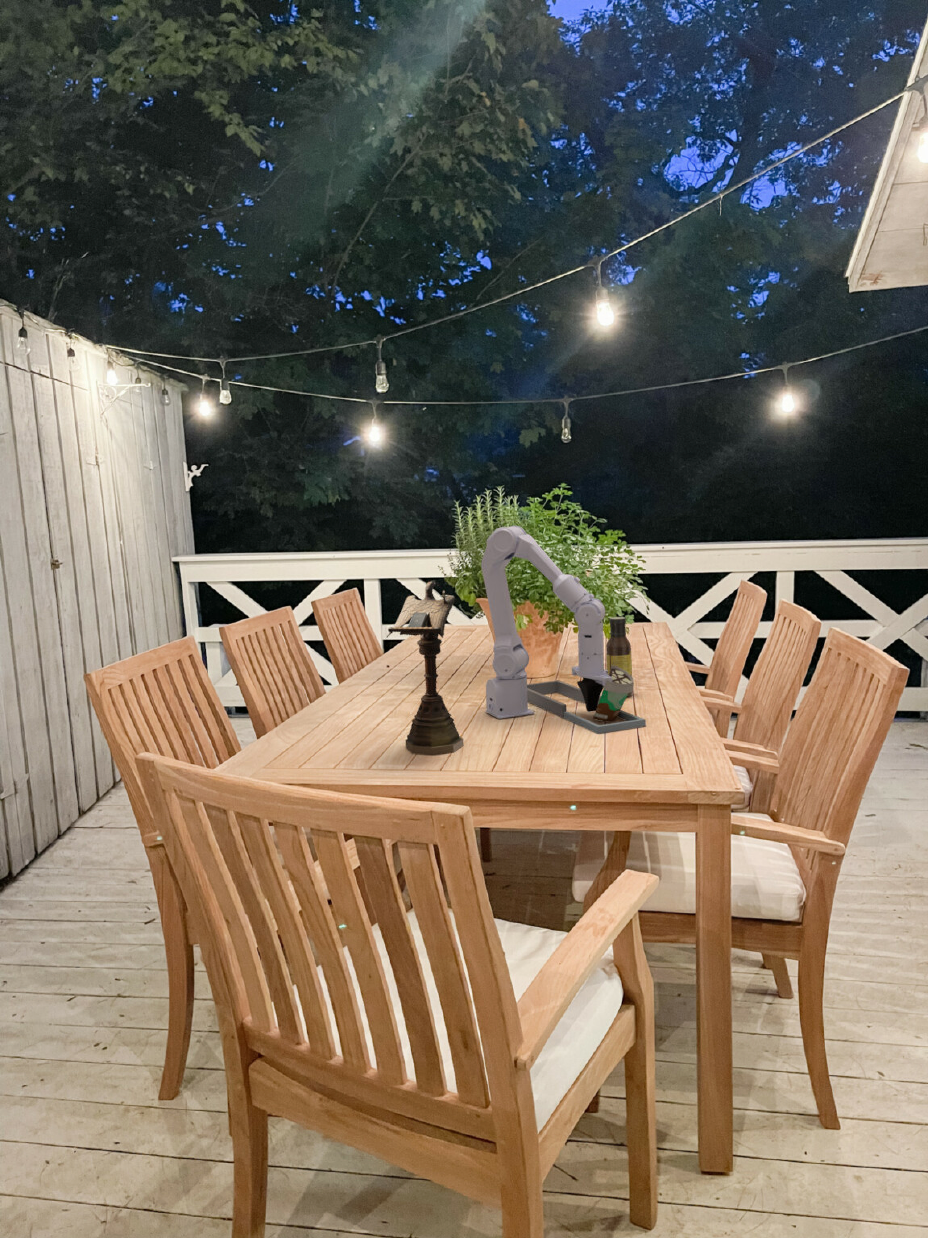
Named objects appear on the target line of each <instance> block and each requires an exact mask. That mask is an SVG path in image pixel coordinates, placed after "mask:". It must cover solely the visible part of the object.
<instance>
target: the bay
mask: <svg viewBox="0 0 928 1238" xmlns="http://www.w3.org/2000/svg"><path fill="white" fill-rule="evenodd" d="M566 711H567V710H566ZM617 718H619V719H621V720H624V721H618V722H613V723H612V722H611V723H607V724H597V723H595V722H593V721H591V720H588V719H586V718H584V717H581V716H579V715H576V714H574V713H572V712H569V711H567V712H564V718H563V719H565V720H566V721H569V722H571V723H573V724H576V725H578V726H580V727H581V728H584V729H587V730H589V731H591V732H592V733H595V734H597V735H599V734H600V735H601V734H607V733H611V732H612V733H613V732H619V731H625V730H626V731H627V730H632V729H636V728H637V729H638V728H644V727H647V726H646V723H647V721H646V719H645V718H642V717H640V716H639V715H638V716H637V715H635V714H632V713H630V712H626V711H625V710H622V709H621V710H620V712H619V715H618V717H617Z"/></svg>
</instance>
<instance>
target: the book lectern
mask: <svg viewBox="0 0 928 1238" xmlns="http://www.w3.org/2000/svg"><path fill="white" fill-rule="evenodd" d="M435 586H439V584H438V585H436V580H434V579H433V580H430V581H428V582H427V583H426V584H425V587H424V592H425V596H424V598H423V599H417V595H408V596H407V597H406V598H405V601H404V604H403V606H402V609H401V612H400V613H399V615H398V617H397V619H396V622H395V623H394V625H393V627H391V626H390V627H388V629H387V631H388V634H387V636H386V638H389V636H390V635H392V634H393V633H399V635H400V636H403V635H405V636H414V637H416V636H420V639H418V640H417V642H416V644H417V645H418V647H419V648H418V653H419V654H420V655H422V656H423V658H424V668H425V669H424V675H423V677H424V678H425V692H424V695H422V696H421V698H420V701H421V702H420V704H419V707H418V710H417V711H416V714H414V715H413V717H414V718H413V719H412V720H411V722H412V723H411V725H410V729H409V732H408V734H407V736H406V738H407V739H405V748H406V749H407V750H408V751H409V752H410V753H411V754H414V755H415V754H416V755H427V756H439V755H444V754H451V753H454V752H456V751H458V750H460V749H461V748H462V747H464V742H465V741H464V738H463V737H462V736H460V734H459V732H458V731H457V727H456V724H455V722H454V721H455V718H453V717H452V714H451V713H450V712H449V711H448V708H447V707H446V704H445V702H444V697H443V696H442V695H440V693H439V692H438V691H437V683H438V681H437V678H438V677H439V675H438V673H437V655H439V654H441V644H442V643H443V641H442V639H443V638H444V636H445V625H446V622H447V620H448V616H449V615H450V612H451V610H452V609H453V606H454V604H455V601H456V597H455V596H454V595H449V594H446V591H445V590H442V595H441V594H440V597H441V599H436V598H435V596H434V593H433V592H434V591H433V589H434V588H435ZM407 624H408V625H407ZM405 625H407V626H405ZM439 636H440V637H441V638H442V639H441V638H439Z"/></svg>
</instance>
